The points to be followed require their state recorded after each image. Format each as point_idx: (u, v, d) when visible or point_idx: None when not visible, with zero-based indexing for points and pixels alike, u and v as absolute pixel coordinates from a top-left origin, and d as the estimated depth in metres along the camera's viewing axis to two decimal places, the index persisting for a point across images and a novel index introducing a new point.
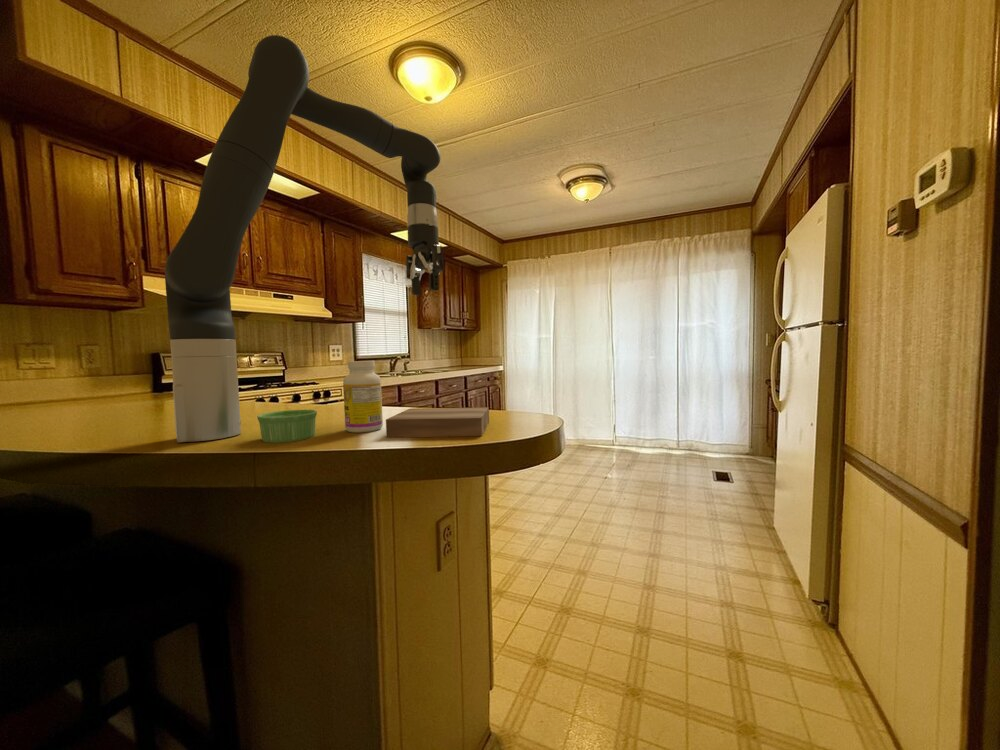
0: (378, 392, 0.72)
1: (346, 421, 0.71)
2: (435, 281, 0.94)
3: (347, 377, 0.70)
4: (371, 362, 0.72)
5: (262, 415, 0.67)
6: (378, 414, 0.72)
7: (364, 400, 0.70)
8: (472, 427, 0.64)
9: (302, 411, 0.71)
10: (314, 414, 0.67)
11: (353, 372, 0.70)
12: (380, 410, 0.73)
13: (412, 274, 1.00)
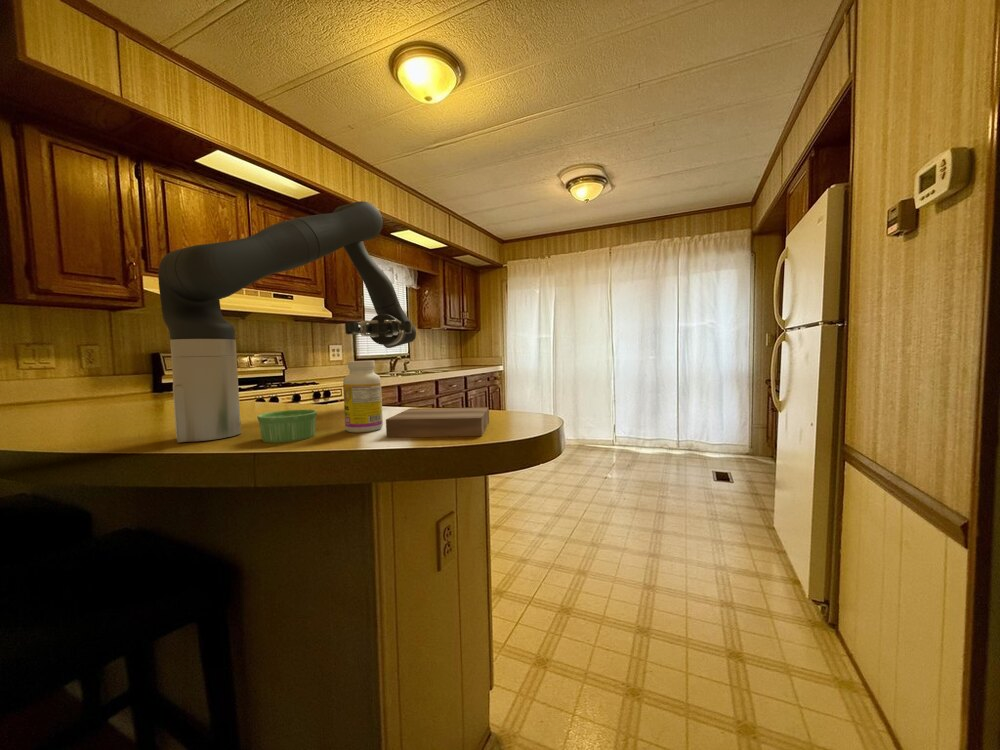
0: (378, 392, 0.72)
1: (346, 421, 0.71)
2: (399, 325, 0.86)
3: (347, 377, 0.70)
4: (371, 362, 0.72)
5: (262, 415, 0.67)
6: (378, 414, 0.72)
7: (364, 400, 0.70)
8: (472, 427, 0.64)
9: (302, 411, 0.71)
10: (314, 414, 0.67)
11: (353, 372, 0.70)
12: (380, 410, 0.73)
13: (359, 322, 0.88)
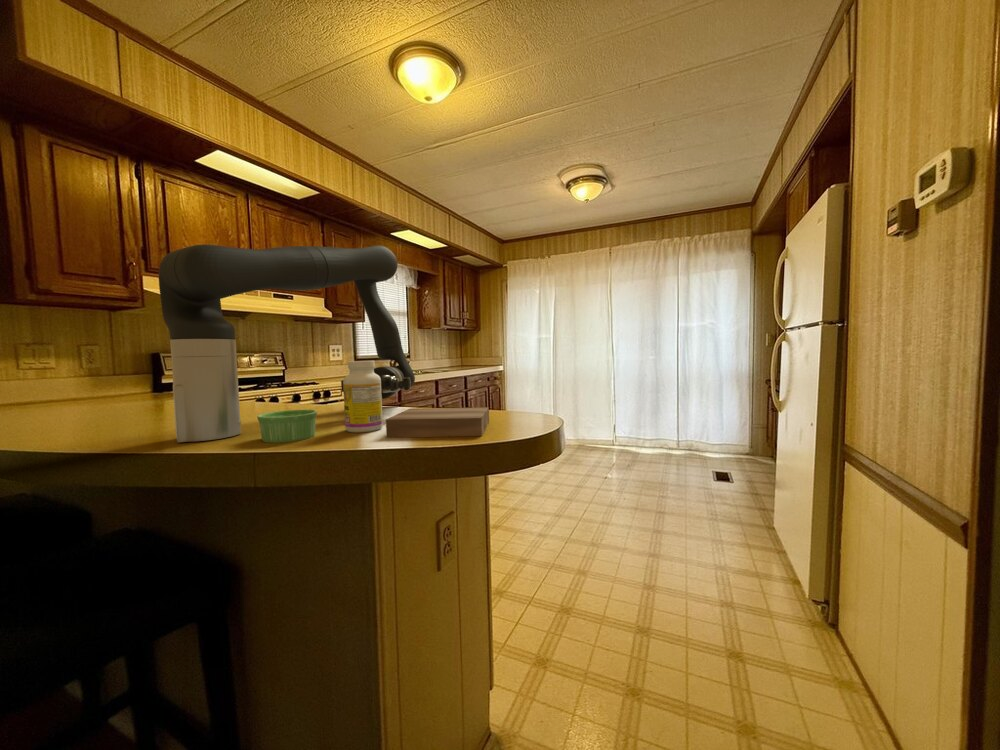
0: (378, 392, 0.72)
1: (346, 421, 0.71)
2: (398, 384, 0.82)
3: (347, 377, 0.70)
4: (371, 362, 0.72)
5: (262, 415, 0.67)
6: (378, 414, 0.72)
7: (364, 400, 0.70)
8: (472, 427, 0.64)
9: (302, 411, 0.71)
10: (314, 414, 0.67)
11: (353, 372, 0.70)
12: (380, 410, 0.73)
13: None
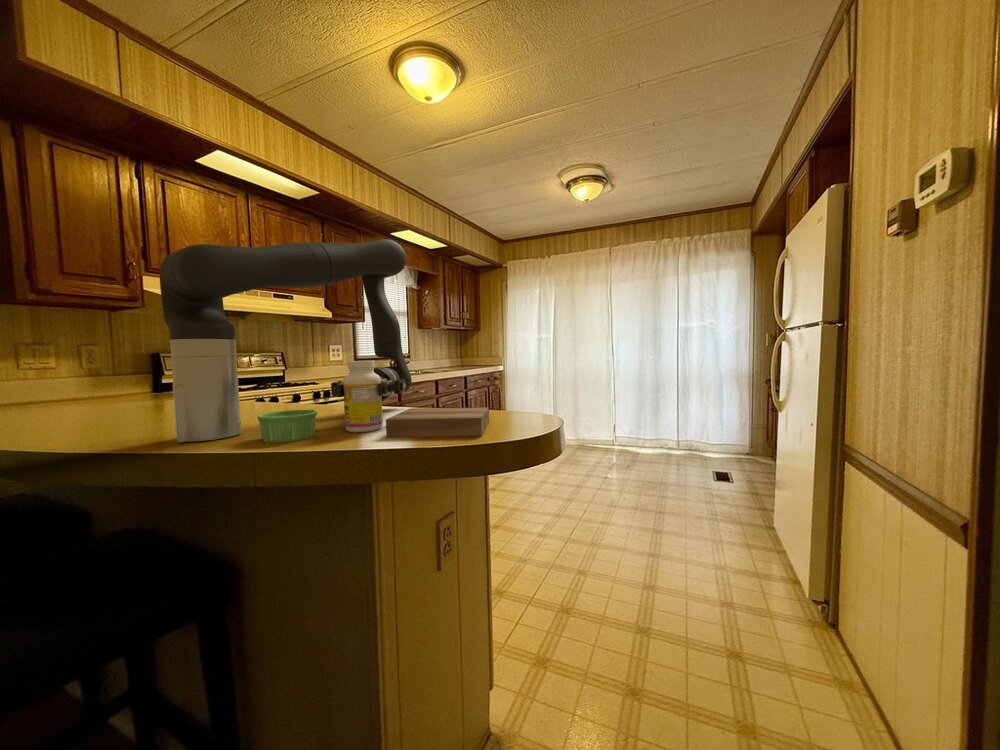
0: None
1: (346, 421, 0.71)
2: (387, 387, 0.73)
3: (347, 377, 0.70)
4: (371, 362, 0.72)
5: (262, 415, 0.67)
6: (378, 414, 0.72)
7: (364, 400, 0.70)
8: (472, 427, 0.64)
9: (302, 411, 0.71)
10: (314, 414, 0.67)
11: (353, 371, 0.70)
12: (380, 410, 0.73)
13: None
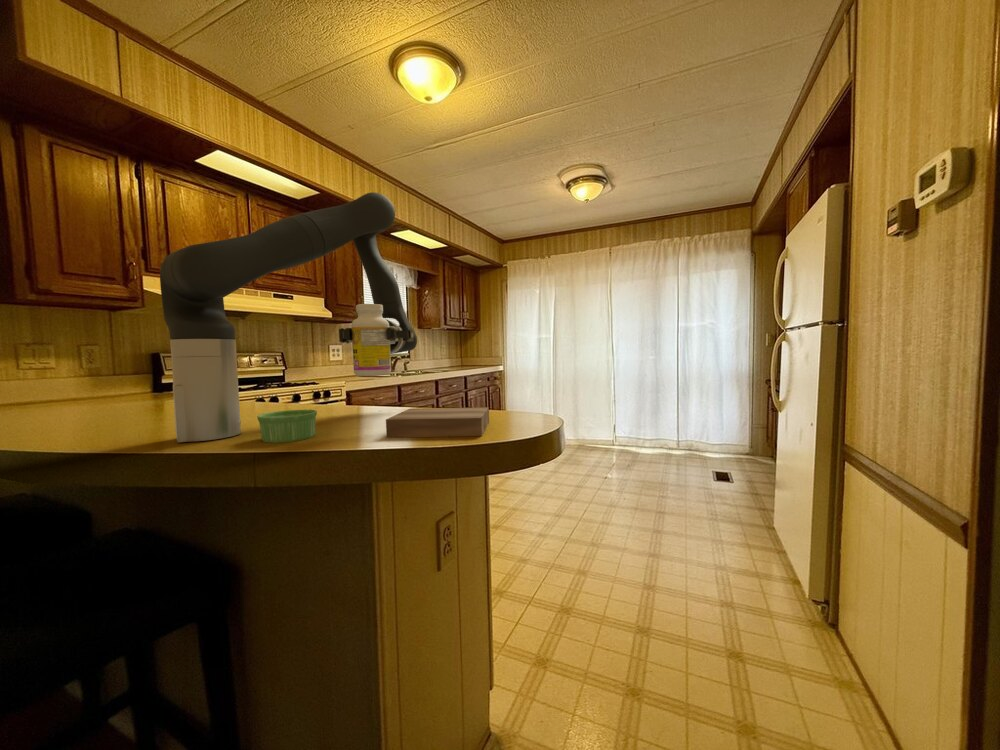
0: (386, 336, 0.71)
1: (355, 365, 0.70)
2: (396, 332, 0.72)
3: (356, 320, 0.70)
4: (379, 306, 0.71)
5: (262, 415, 0.67)
6: (387, 358, 0.71)
7: (372, 343, 0.69)
8: (472, 427, 0.64)
9: (302, 411, 0.71)
10: (314, 414, 0.67)
11: (362, 315, 0.70)
12: (389, 355, 0.72)
13: None
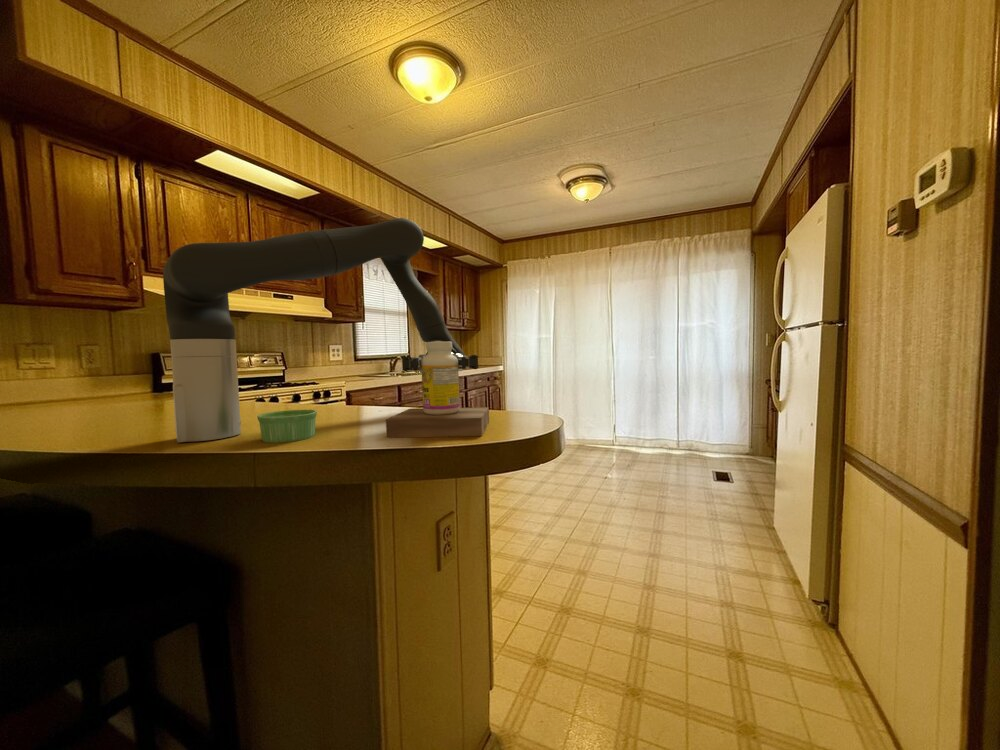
0: (457, 373, 0.70)
1: (425, 403, 0.69)
2: None
3: (427, 358, 0.68)
4: (450, 343, 0.70)
5: (262, 415, 0.67)
6: (457, 396, 0.70)
7: (444, 382, 0.68)
8: (472, 427, 0.64)
9: (302, 411, 0.71)
10: (314, 414, 0.67)
11: (433, 352, 0.69)
12: (458, 392, 0.71)
13: (419, 357, 0.73)
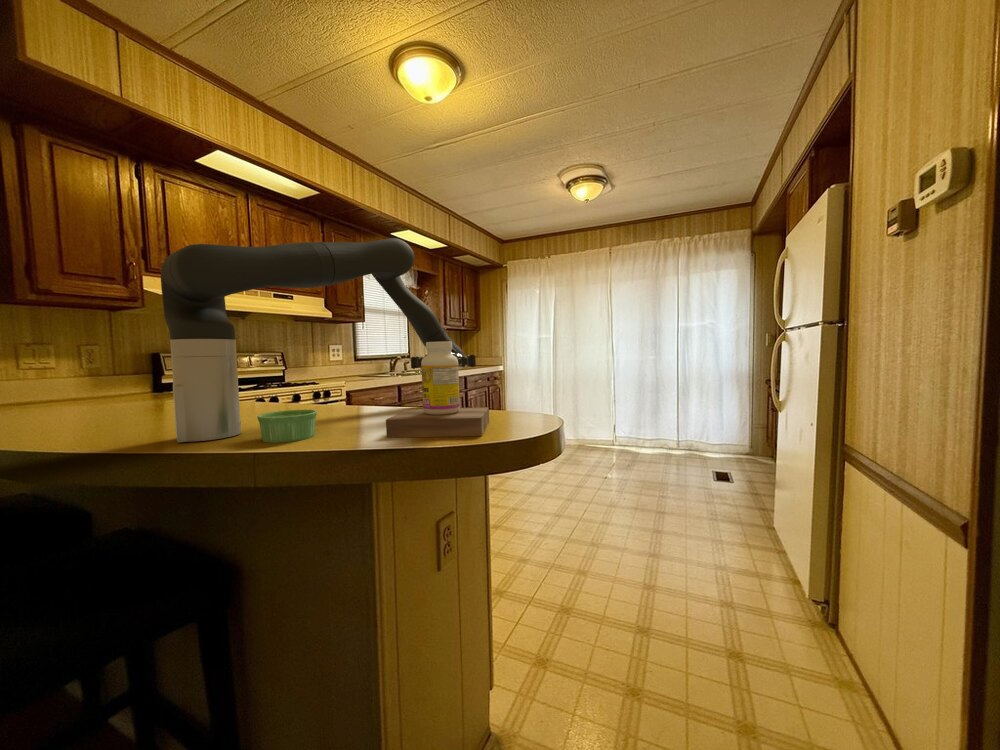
0: (456, 373, 0.70)
1: (425, 403, 0.69)
2: None
3: (427, 358, 0.68)
4: (450, 343, 0.70)
5: (262, 415, 0.67)
6: (457, 396, 0.70)
7: (444, 382, 0.68)
8: (472, 427, 0.64)
9: (302, 411, 0.71)
10: (314, 414, 0.67)
11: (433, 352, 0.69)
12: (458, 392, 0.71)
13: None
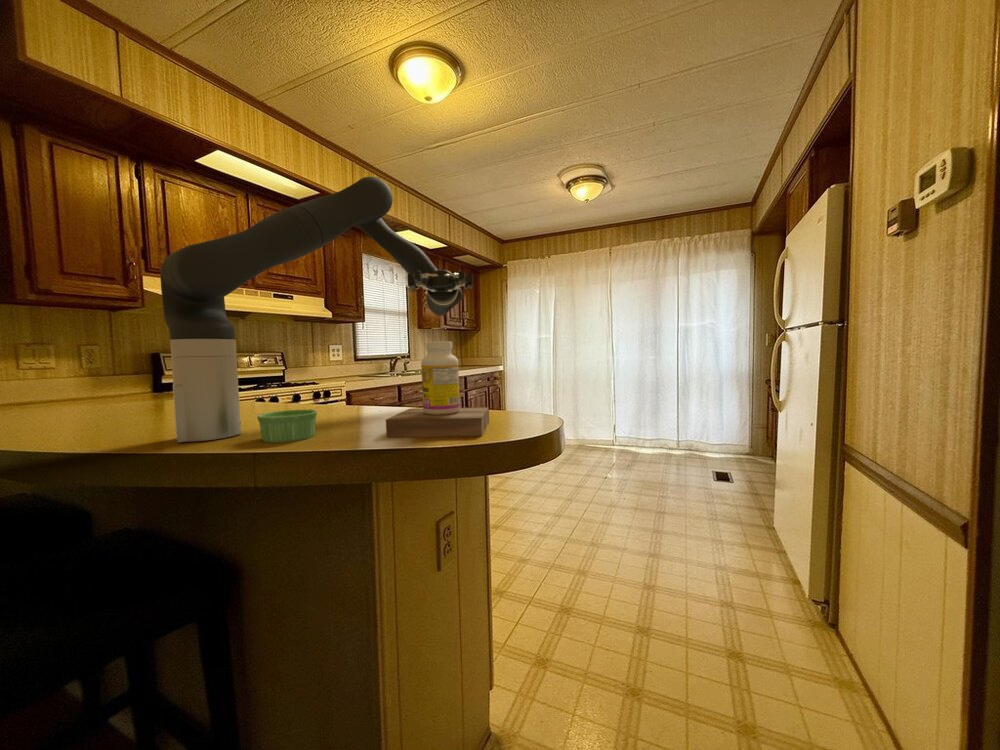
0: (456, 373, 0.70)
1: (425, 403, 0.69)
2: None
3: (427, 358, 0.68)
4: (450, 343, 0.70)
5: (262, 415, 0.67)
6: (457, 396, 0.70)
7: (444, 382, 0.68)
8: (472, 427, 0.64)
9: (302, 411, 0.71)
10: (314, 414, 0.67)
11: (433, 352, 0.69)
12: (458, 392, 0.71)
13: (422, 274, 0.85)
